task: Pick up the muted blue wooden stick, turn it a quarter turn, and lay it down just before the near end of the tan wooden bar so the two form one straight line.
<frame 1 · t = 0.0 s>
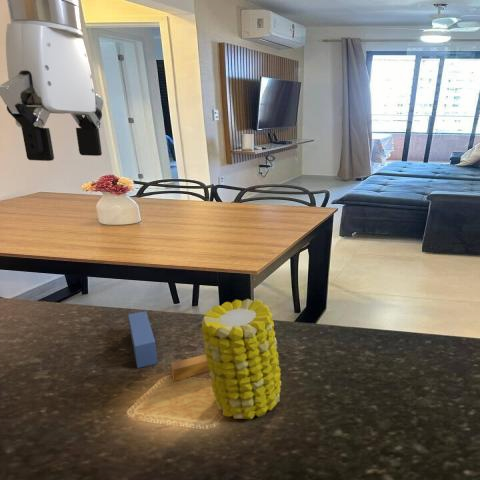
hand: (68, 157, 53), 33 cm above the kitchen counter, tool pointing down, fingers open, 9 cm apart
tan wooden bar: (211, 366, 62), on the kitchen counter
blue stick: (143, 347, 66), on the kitchen counter
food: (244, 401, 54), on the kitchen counter
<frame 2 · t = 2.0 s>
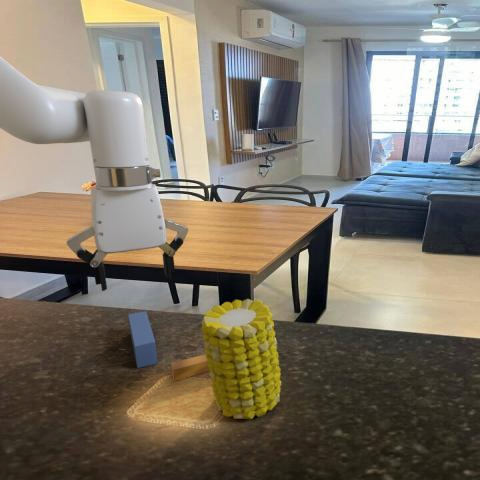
hand: (137, 282, 63), 12 cm above the kitchen counter, tool pointing down, fingers open, 9 cm apart
nothing on the kitchen counter moved.
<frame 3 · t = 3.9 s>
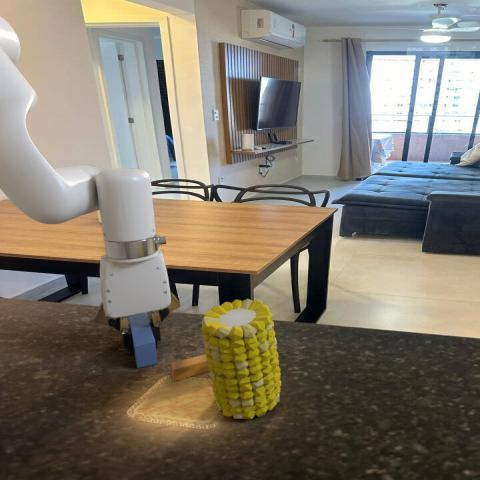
hand: (143, 346, 66), 0 cm above the kitchen counter, tool pointing down, fingers closed on blue stick, 3 cm apart
blue stick: (143, 347, 66), on the kitchen counter, touching gripper
everything else where it was.
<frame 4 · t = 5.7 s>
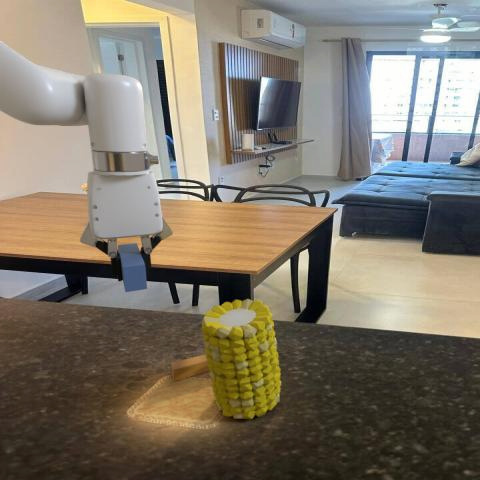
hand: (132, 275, 62), 13 cm above the kitchen counter, tool pointing down, fingers closed on blue stick, 3 cm apart
blue stick: (132, 277, 63), point 13 cm above the kitchen counter, touching gripper
everything else where it was.
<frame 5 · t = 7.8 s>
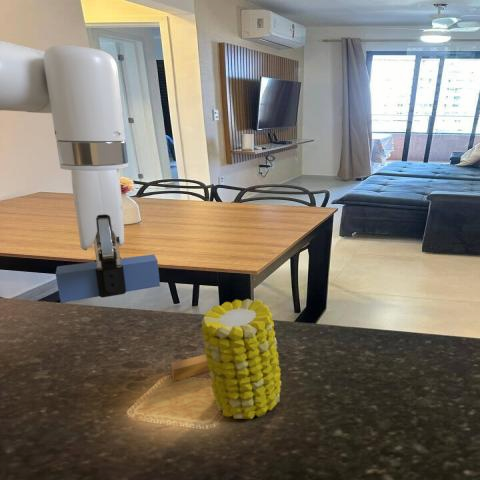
hand: (112, 288, 53), 15 cm above the kitchen counter, tool pointing down, fingers closed on blue stick, 3 cm apart
blue stick: (112, 290, 53), point 15 cm above the kitchen counter, touching gripper
everything else where it was.
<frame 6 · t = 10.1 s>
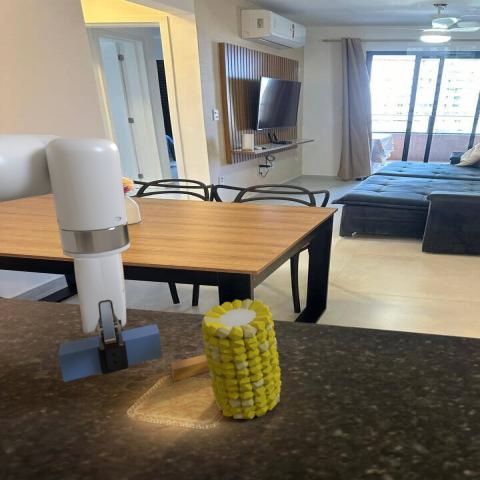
hand: (114, 362, 53), 5 cm above the kitchen counter, tool pointing down, fingers closed on blue stick, 3 cm apart
blue stick: (115, 363, 54), point 5 cm above the kitchen counter, touching gripper
everything else where it was.
when the fingers open (0 cm above the kitchen counter, at t = 11.6 s): blue stick stays where it is, on the kitchen counter.
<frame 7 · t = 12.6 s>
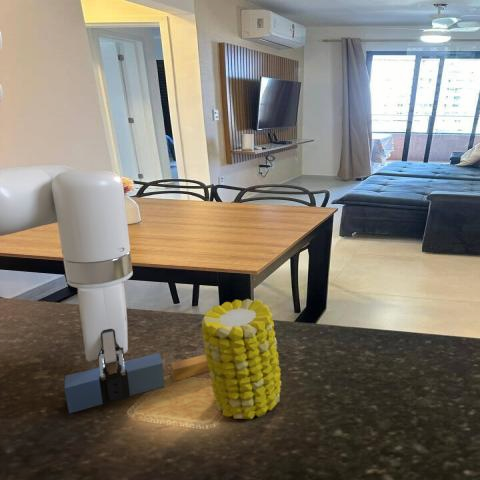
hand: (114, 379, 54), 2 cm above the kitchen counter, tool pointing down, fingers open, 9 cm apart
blue stick: (118, 393, 55), on the kitchen counter
everything else where it was.
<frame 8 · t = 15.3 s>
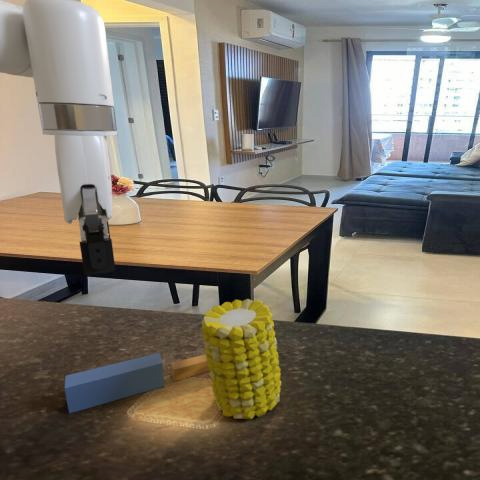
hand: (99, 260, 49), 20 cm above the kitchen counter, tool pointing down, fingers open, 9 cm apart
nothing on the kitchen counter moved.
at the end: blue stick 0.1 cm from the target spot, on the kitchen counter; blue stick tilted 0°; the gripper is holding nothing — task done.
